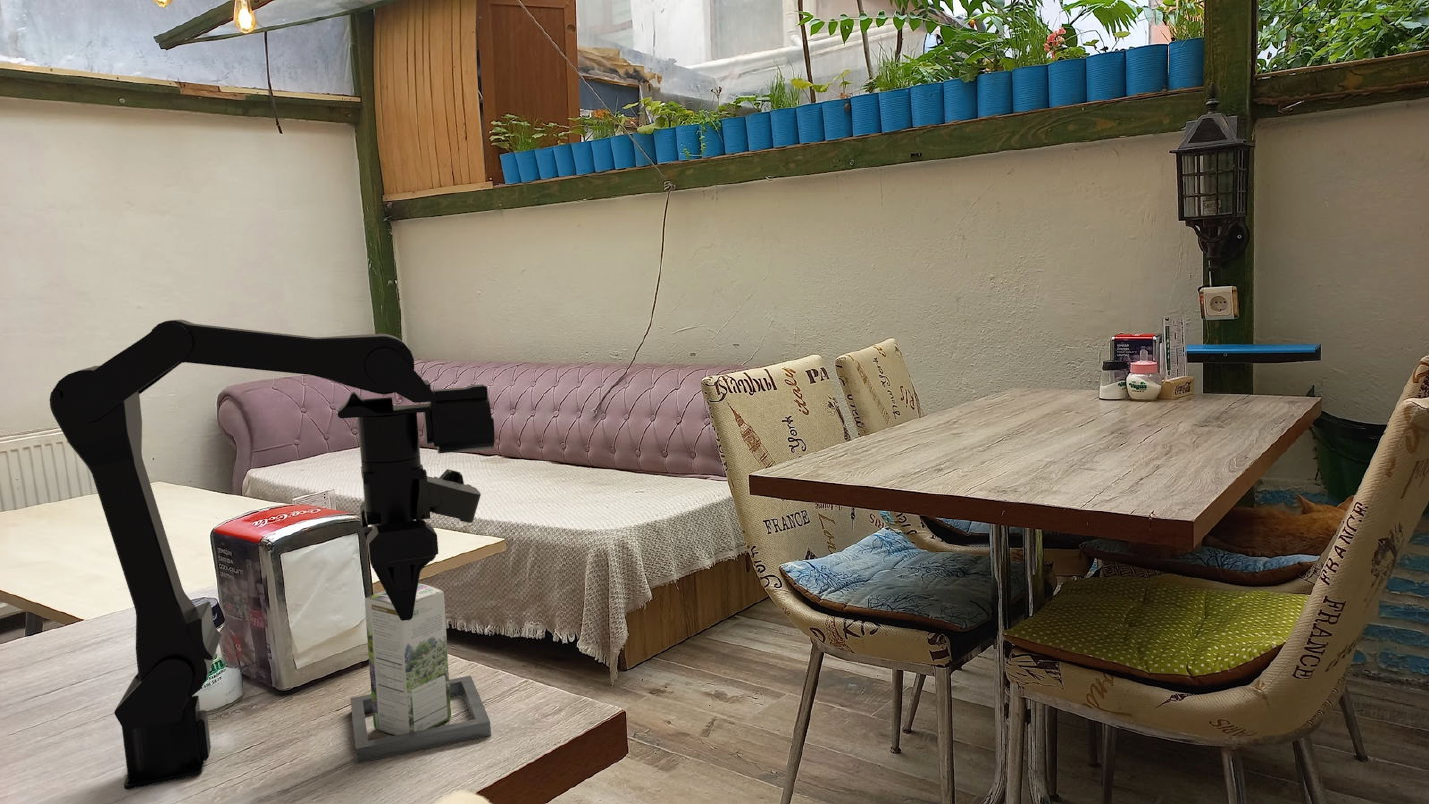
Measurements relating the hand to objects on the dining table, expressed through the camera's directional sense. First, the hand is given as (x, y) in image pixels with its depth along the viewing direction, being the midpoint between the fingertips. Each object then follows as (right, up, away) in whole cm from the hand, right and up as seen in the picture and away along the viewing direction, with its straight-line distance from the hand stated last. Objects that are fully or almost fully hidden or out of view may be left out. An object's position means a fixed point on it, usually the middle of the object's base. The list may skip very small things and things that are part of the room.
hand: (402, 606), depth 100 cm
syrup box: (+1, -13, +2) cm, 13 cm away
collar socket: (+1, -13, +2) cm, 13 cm away
